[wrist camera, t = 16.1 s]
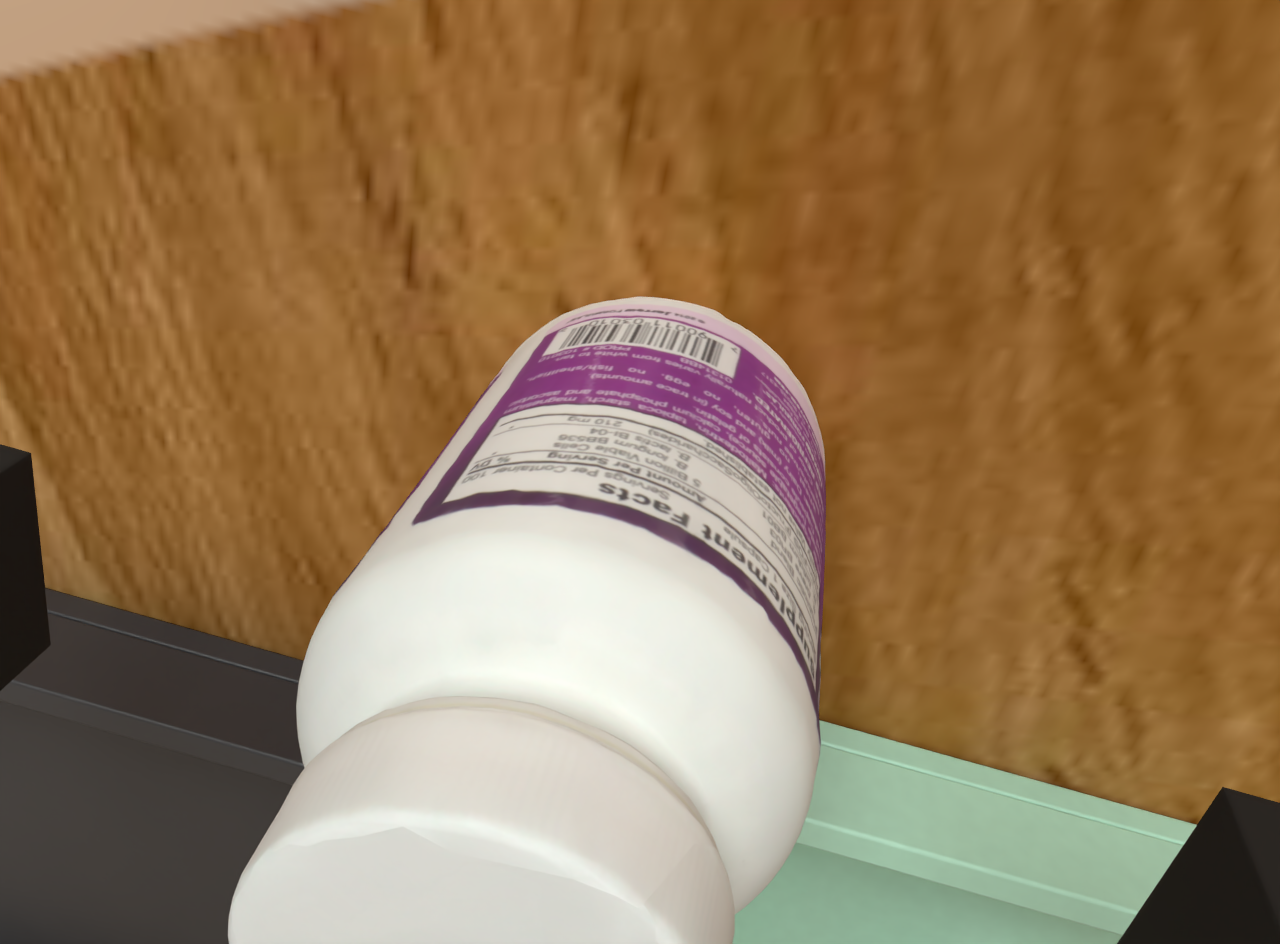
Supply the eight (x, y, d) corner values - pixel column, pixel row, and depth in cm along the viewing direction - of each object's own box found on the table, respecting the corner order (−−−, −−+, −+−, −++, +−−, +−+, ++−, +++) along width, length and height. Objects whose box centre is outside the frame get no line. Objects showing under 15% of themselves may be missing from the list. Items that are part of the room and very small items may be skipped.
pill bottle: (662, 642, 18) (505, 1266, 10) (427, 440, 17) (28, 954, 9) (905, 457, 16) (963, 1082, 8) (649, 207, 15) (382, 617, 6)
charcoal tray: (-227, 509, 21) (-347, 578, 19) (414, 690, 20) (363, 782, 18) (-116, 929, 27) (-195, 1014, 25) (368, 1076, 27) (327, 1176, 25)
